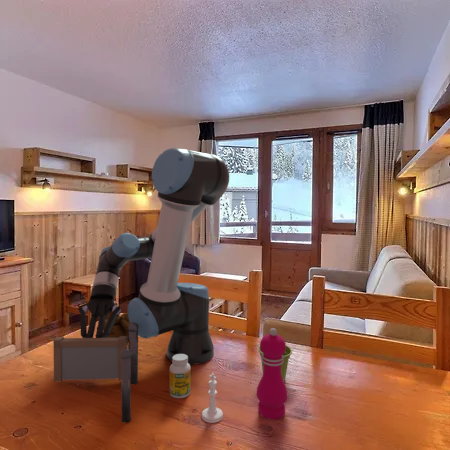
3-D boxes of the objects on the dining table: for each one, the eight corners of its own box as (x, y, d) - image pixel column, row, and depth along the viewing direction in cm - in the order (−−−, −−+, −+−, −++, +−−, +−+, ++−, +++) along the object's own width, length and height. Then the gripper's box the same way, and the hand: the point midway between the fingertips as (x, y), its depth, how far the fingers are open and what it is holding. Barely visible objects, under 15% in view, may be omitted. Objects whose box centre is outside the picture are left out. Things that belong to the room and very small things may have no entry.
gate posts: (144, 379, 94) (144, 320, 93) (130, 423, 75) (130, 349, 74) (129, 379, 94) (129, 320, 93) (111, 423, 74) (110, 350, 74)
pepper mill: (286, 423, 76) (288, 335, 75) (254, 418, 77) (256, 332, 76) (287, 404, 83) (289, 324, 82) (257, 401, 84) (259, 322, 83)
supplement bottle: (186, 386, 91) (187, 351, 90) (193, 396, 86) (193, 359, 85) (167, 390, 88) (167, 354, 88) (172, 401, 84) (173, 363, 83)
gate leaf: (127, 375, 93) (127, 336, 93) (125, 379, 91) (125, 339, 90) (57, 377, 92) (57, 336, 91) (53, 381, 90) (53, 340, 89)
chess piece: (215, 425, 74) (215, 381, 74) (197, 418, 77) (197, 375, 77) (227, 414, 79) (227, 372, 78) (209, 407, 81) (210, 366, 81)
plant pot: (294, 375, 97) (295, 346, 97) (286, 391, 89) (287, 359, 88) (263, 368, 101) (264, 340, 101) (252, 383, 93) (253, 352, 92)
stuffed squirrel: (100, 335, 126) (100, 300, 125) (139, 334, 127) (139, 299, 127) (93, 346, 116) (93, 308, 115) (135, 344, 118) (135, 307, 117)
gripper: (126, 294, 114) (114, 366, 98) (86, 295, 113) (68, 367, 97) (123, 282, 108) (110, 356, 93) (81, 283, 107) (60, 357, 91)
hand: (88, 362), depth 95 cm, fingers closed
